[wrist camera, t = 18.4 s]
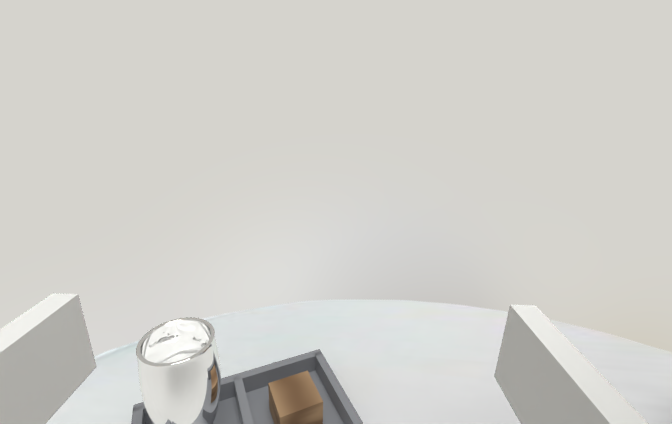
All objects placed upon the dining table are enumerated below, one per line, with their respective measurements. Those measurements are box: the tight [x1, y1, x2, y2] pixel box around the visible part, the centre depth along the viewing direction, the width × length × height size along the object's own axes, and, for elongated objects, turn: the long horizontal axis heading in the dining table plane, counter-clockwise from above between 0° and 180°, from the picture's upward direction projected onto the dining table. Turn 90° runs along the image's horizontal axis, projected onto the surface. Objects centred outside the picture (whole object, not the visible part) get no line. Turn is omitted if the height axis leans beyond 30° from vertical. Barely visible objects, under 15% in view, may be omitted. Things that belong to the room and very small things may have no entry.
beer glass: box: [136, 318, 221, 424], centre depth 33 cm, size 7×7×15 cm
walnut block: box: [268, 370, 323, 424], centre depth 40 cm, size 5×5×4 cm
